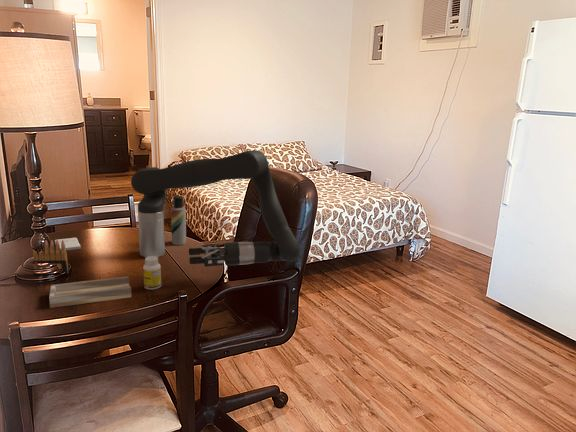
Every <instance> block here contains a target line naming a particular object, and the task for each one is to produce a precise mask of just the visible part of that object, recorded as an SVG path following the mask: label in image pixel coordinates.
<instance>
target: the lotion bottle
mask: <svg viewBox="0 0 576 432" xmlns="http://www.w3.org/2000/svg"><path fill="white" fill-rule="evenodd" d="M172 200H173V201H172V202H173V206H172V207H171V208H170V213H171V214H170V216H171V217H170V219H171V220H170V221H171V242H172V245H175V246H183V245H185V244H186V242H187V224H186V223H187V222H186V221H187V219H186V216H187V215H186V214H187V213H186V211H187V210H186V206H184V198H183V195H174V196H173V197H172Z"/></svg>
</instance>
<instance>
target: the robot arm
mask: <svg viewBox="0 0 576 432" xmlns="http://www.w3.org/2000/svg"><path fill="white" fill-rule="evenodd" d="M227 180H252V181H253V183H254V185H255V188H256V191H257V192H258V198H259V204H260V212H261V216H262V219H263V221H264V223H265V226H266V229H267V231H268V232H269V234H270V236H271V237H272V238H273V240H274V241H231V242H229V241H228V242H225V243H224V244H223V247H221V245H220V244H219V243H217V244H202V245H201V246H200V247H192V248H191V247H189V249H188V255H189V256H190V257H189V259H188V260H189V262H188V263H189V265H200V264H201V265H202V266H204V267H217V266H218V267H220V266H224V264H225V266H241V265H250V264H251V265H252V264H261V263H263V264H264V263H268V262H280V261H281V262H283V261H284V262H294V261H296V260H297V259H298V258H299V256H300V253H301V248H300V245H299V242H298V241H297V239H296V237H295V235H294V233H293V231H292V230H291V228H290V226H289V223H288V220H287V219H286V216H285V214H284V212H283V208H282V205H281V204H280V201H279V199H278V194H277V193H276V189H275V186H274V181H273V177H272V174H271V169H270V165H269V161H268V158H267V157H266V155H265V154H264V153H263V152H262V151H260V150H257V149H256V150H255V149H254V150H245V151H243V152H239V153H235V154H233V155H230V156H226V157H220V158H200V159H194V160H193V159H192V160H188V161H183V162H179V163H177V164H174V165H169V166H167V167H164V168H163V167H162V168H159V167H156V166H151V167H145V168H142V169H139V170H137V171H136V172H134V173H133V175H132V177H131V179H130V183H131V187H132V189H134V191H135V192H136V193H139V194H142V195H143V197H142V199H141V200H140V201H139V202H138V204H137V215H138V216H137V219H138V238H139V241H138V242H139V255H140V256H141V257H144V258H146V257H148V256H156V257H158V258H159V257H162V256H164V255H165V253H166V248H165V246H166V245H165V242H166V241H165V217H164V216H165V215H164V214H165V213H164V210H165V209H164V206H165V204H166V203H165V202H166V200H167V199H166V193H167V192H166V190H169V189H187V188H195V187H202V186H209V185H212V184H217V183H218V182H222V181H227ZM198 255H199V256H198ZM200 255H202V256H200Z"/></svg>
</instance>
